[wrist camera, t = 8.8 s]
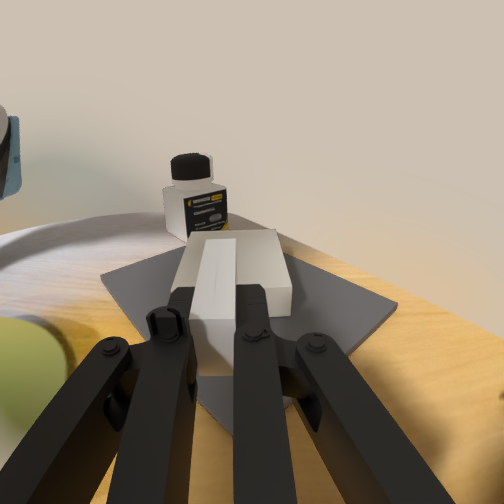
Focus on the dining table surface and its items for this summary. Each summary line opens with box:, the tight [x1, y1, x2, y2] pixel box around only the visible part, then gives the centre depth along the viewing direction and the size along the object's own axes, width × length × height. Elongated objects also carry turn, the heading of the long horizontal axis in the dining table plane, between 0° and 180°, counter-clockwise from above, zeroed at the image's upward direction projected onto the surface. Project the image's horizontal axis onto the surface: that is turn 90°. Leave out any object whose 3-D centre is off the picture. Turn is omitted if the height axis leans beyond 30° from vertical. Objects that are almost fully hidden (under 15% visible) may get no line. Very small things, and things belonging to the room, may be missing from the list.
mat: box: [100, 246, 398, 436], centre depth 31 cm, size 26×20×1 cm
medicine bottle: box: [162, 153, 228, 243], centre depth 45 cm, size 7×7×12 cm
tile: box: [171, 229, 292, 317], centre depth 32 cm, size 3×10×13 cm
